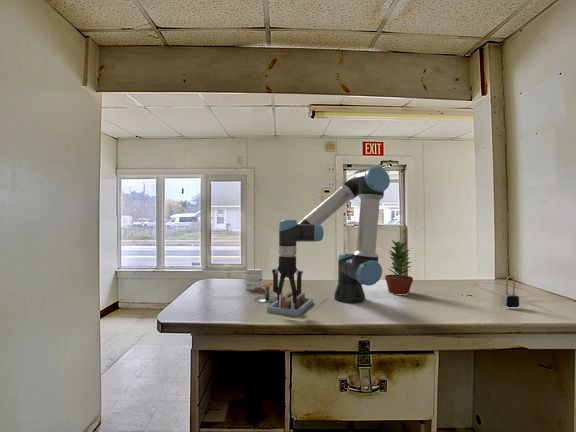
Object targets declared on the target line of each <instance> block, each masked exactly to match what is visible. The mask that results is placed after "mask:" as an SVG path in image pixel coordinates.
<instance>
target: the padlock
mask: <svg viewBox="0 0 576 432" xmlns="http://www.w3.org/2000/svg"><path fill="white" fill-rule="evenodd" d="M505 278H506V279H505V293H502V294H501V296H500V305H501V304H502V305H504V306H508V307H518V306H520V296H519V295H516V293H515V292H516V291H515V289H516V283H515V282H516V281H515V277H514V276H513V275H509V276H507V277H505ZM509 278H510V279H512V293H508V288H509V287H508V286H509V285H508V282H509Z"/></svg>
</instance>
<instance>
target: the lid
mask: <svg viewBox="0 0 576 432" xmlns="http://www.w3.org/2000/svg"><path fill="white" fill-rule="evenodd" d="M271 286H273V283H272V282H269V281H267V282H265V283H262V288H265V289H264V296H263V295H262V296H256V297H254V298H253V302H256V303H259V304H272V303H274V302H275V301H277V296H272V295H270V287H271Z"/></svg>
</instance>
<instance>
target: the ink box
mask: <svg viewBox="0 0 576 432" xmlns="http://www.w3.org/2000/svg"><path fill="white" fill-rule="evenodd" d="M262 289H263V269H261V268H247V269H246V270H245V290H247V291H262Z"/></svg>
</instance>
